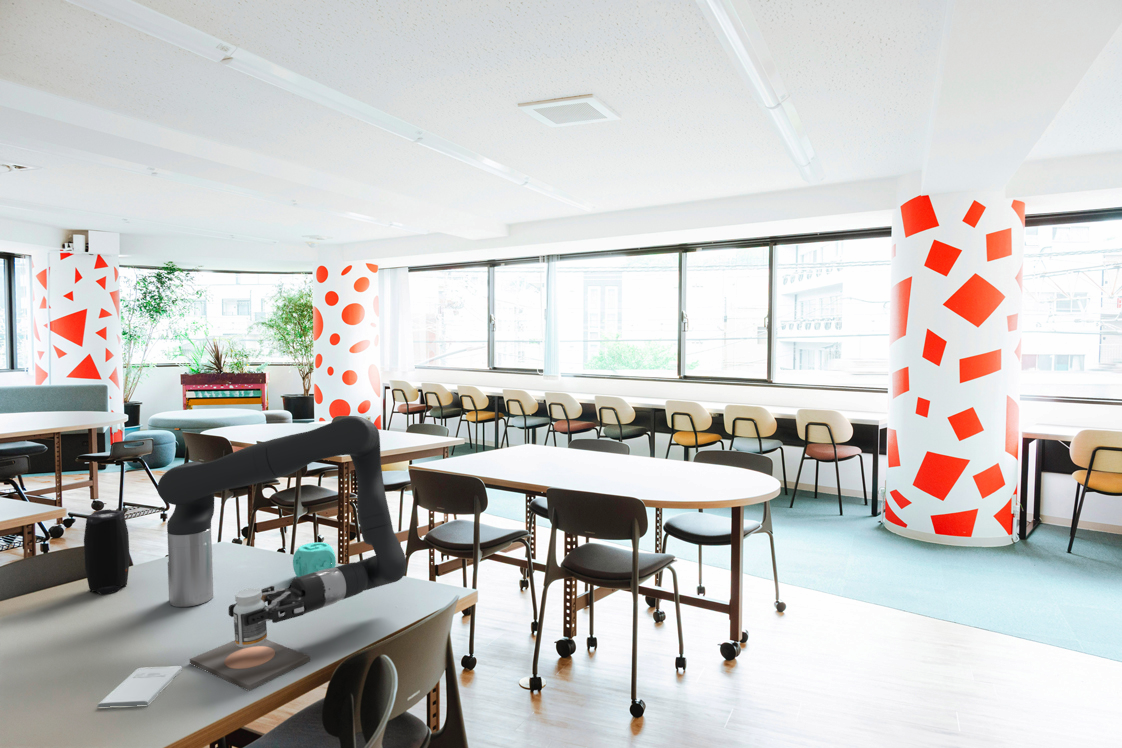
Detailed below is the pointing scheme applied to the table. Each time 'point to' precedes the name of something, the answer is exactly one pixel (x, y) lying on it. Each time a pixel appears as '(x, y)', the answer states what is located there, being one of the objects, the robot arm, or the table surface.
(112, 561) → the portable speaker
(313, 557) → the decorative dice
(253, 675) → the dark grey flat slab
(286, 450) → the robot arm
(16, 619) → the table surface
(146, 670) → the external hard drive
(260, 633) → the pill bottle
